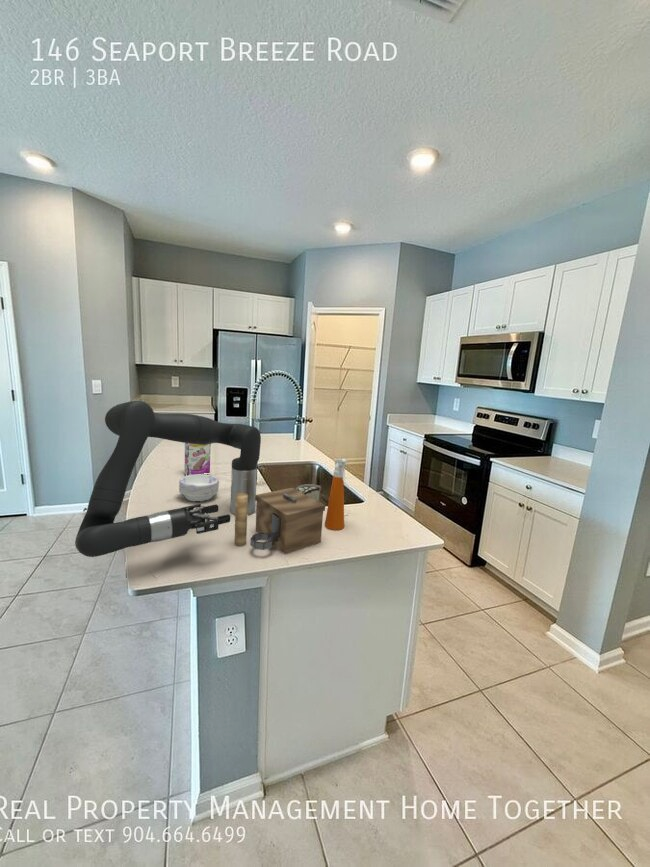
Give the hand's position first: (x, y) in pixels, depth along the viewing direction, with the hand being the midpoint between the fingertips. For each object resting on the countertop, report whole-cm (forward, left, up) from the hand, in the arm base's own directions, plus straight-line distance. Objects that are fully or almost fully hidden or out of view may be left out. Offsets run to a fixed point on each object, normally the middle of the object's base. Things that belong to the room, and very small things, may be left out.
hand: (223, 512), depth 105 cm
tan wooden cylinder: (0, +6, -12) cm, 13 cm away
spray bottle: (+8, +39, -12) cm, 41 cm away
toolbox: (+4, +21, -12) cm, 24 cm away
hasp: (+8, +10, -9) cm, 16 cm away
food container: (-10, +38, -12) cm, 41 cm away
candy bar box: (-72, +19, -12) cm, 75 cm away
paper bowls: (-43, +9, -12) cm, 45 cm away
